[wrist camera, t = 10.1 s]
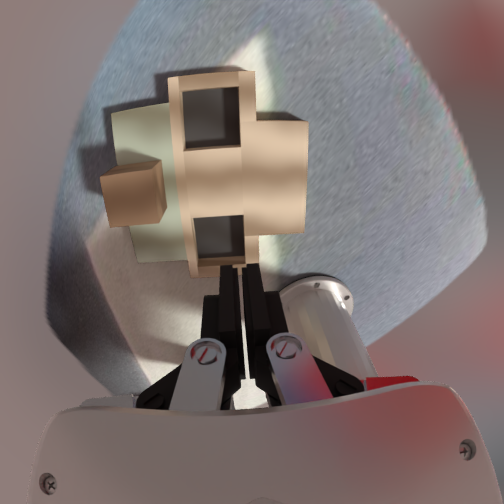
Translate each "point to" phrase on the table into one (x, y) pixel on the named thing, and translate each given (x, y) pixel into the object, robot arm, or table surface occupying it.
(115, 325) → the table surface
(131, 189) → the walnut block
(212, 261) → the board
